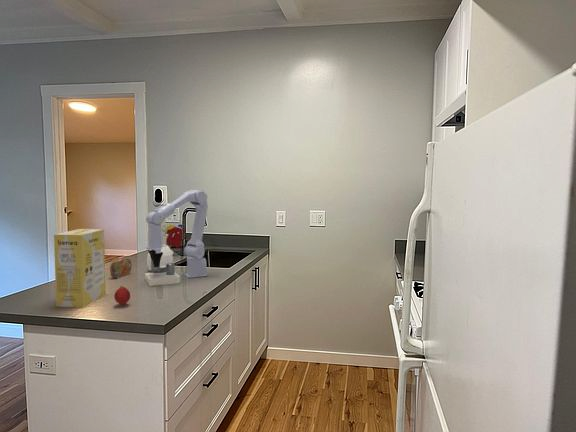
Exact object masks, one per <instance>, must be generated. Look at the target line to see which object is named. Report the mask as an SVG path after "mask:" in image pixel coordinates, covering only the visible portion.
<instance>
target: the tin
mask: <svg viewBox="0 0 576 432" xmlns="http://www.w3.org/2000/svg"><path fill="white" fill-rule="evenodd" d="M131 271H132V261H131V260H130V259H129V258H122V259H118V260H114V261H113V262H112V263H111V264H110V268H109V272H110V277H112V278H114V279H119V278H122V277H125V276H128V275H130V273H131Z"/></svg>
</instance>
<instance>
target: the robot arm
mask: <svg viewBox="0 0 576 432" xmlns="http://www.w3.org/2000/svg"><path fill="white" fill-rule="evenodd" d="M186 203H190V204H191V205H193V207H194V208H195V213H194V214H195V216H194V220H193V225H192V230H191V236H190V239H189V240H188V241H187V243H186V246H185V247H184V255H185V256H186V270H187V273H185V276H186V277H187V278H188V279H189V278H200V277H201V278H202V277H207V276H208V274H207V269H208V268H207V259H206V257H204V256H205V244H204V242H203V236H204V229H205V224H206V219H207V214H208V194H207V193H206V192H205V190H203V189H200V190H199V189H188V190H187V191H184V193H183V194H181V195H180V196H179V197H178V198H176V199H175V200H174V201H172V202H171V203H169V202H166V203H163V204H162V206H160V207H158V208H155V210H154V211H149V213H148V214H147V215H146V217H145V220H146V223H147V224H148V246H146V250H147V251H148V252H149V254H150V257H151V261H153V264H154V267H159V265H160V260H161V257H162V255H163V252H160V251H161V249H162V245H163V240H162V234H163V231H162V228H161V224H162V223H163V221H164V219H166V220H167V219H168V217H170V216H171V215H173V214H174V213H175V210H176V209H178V208H179V207H181V206H183V205H185V204H186ZM150 249H151V250H150ZM148 252H147V253H148Z"/></svg>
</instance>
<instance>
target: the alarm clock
mask: <svg viewBox="0 0 576 432" xmlns="http://www.w3.org/2000/svg"><path fill="white" fill-rule="evenodd" d="M176 221H177V222H180V223H179V224H178V225H177V226H176V224H172V223H173V222H176ZM165 228H166V230H167V233H165V234H168V236H167V239H166V245H167V246H169V248H170V249H171V247H174V248H176V249H179V248H181V247H182V246H181V241H182V229H183V228H182V220H178V219H174V220H172V221H170V224H168V226H166V227H165ZM187 239H188V235H187V234H186V240H187Z"/></svg>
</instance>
